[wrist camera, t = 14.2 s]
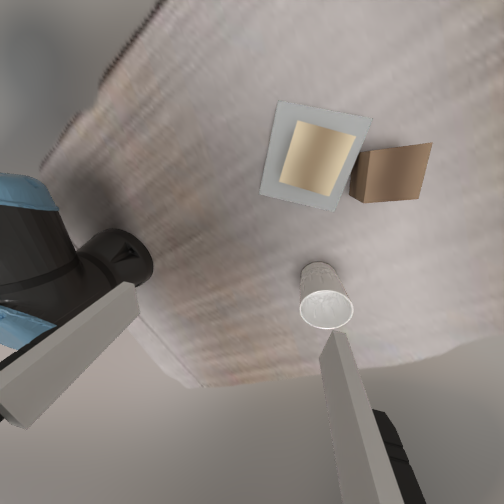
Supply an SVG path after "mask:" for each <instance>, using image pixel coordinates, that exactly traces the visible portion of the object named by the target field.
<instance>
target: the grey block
mask: <svg viewBox="0 0 504 504" xmlns="http://www.w3.org/2000/svg"><path fill="white" fill-rule="evenodd" d="M372 120H373V118H368V117H363V116H358V115H353V114H347V113H342V112H337V111H332V110H326V109H321V108H316V107H311V106H305V105H300V104H295V103H290V102H284V101H279V100H278V104H277V109H276V114H275V119H274V123H273V128H272V133H271V138H270V143H269V148H268V153H267V157H266V162H265V167H264V172H263V177H262V182H261V187H260V192H259V195H263V196H268V197H272V198H276V199H280V200H284V201H289V202H293V203H297V204H301V205H305V206H309V207H314V208H318V209H322V210H326V211H330V212H335V209H336V207H337V204H338V202H339V199H340V197H341V195H342V192H343V190H344V187H345V185H346V183H347V180H348V178H349V175H350V173H351V171H352V168H353V166H354V163H355V161H356V159H357V156H358V154H359V151H360V149H361V146H362V144H363V142H364V139H365V137H366V134H367V132H368V130H369V127H370V125H371V122H372ZM297 121H302V122H306V123H309V124H313V125H317V126H320V127H324V128H327V129H331V130H335V131H338V132H342V133H346V134H349V135H353V136H356V138H355V140H354V142H353V145H352V147H351V149H350V151H349V154H348V156H347V158H346V160H345V162H344V165H343V167H342V169H341V171H340V174H339V176H338V178H337V180H336V183H335V185H334V187H333V189H332V191H331V194H330V196H325V195H322V194H319V193H315V192H312V191H308V190H305V189H302V188H298V187H295V186H292V185H288V184H285V183H282V182H279V179H280V176H281V173H282V169H283V166H284V163H285V160H286V156H287V153H288V150H289V147H290V143H291V140H292V137H293V134H294V130H295V127H296V124H297Z"/></svg>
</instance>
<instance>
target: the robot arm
mask: <svg viewBox="0 0 504 504" xmlns="http://www.w3.org/2000/svg"><path fill="white" fill-rule="evenodd" d="M58 211H59V207H57V206H56V205H55V203H54V201H53V199H52V197H51V195H50V193H49V191H48V189H47V188H46V186H45V185H44V184H43V183H42V182H40V181H39V180H37V179H35V178H32V177H29V176H24V175H17V174H9V173H0V344H2V345H4V346H7V347H10V348H13V349H16V350H18V351H17V352H14V353H13V354H11V355H10V356H8V357H7V358H6V359H4V360H3V361H1V362H0V422H1V421H2V420H3V419H4V418H5V419H6V420H7V421H8V422H9V423H10V424H11V425H14V426H17V427H20V428H23V429H26V430H27V429H28V428H29V427H30V426H31V425H32V424H33V423H34V422H35V421H36V420H37V419H38V418H39V417H40V416H41V415H42V414H43V413H44V412H45V411H46V410H47V409H48V408H49V407H50V406H51V404H53V403H54V402H55V400H56V399H57V398H58V397H59V396H60V395H61V394H62V393H63V392H64V391H65V390H66V389H67V388H68V387H69V386H70V385H71V384H72V383H73V382H74V381H75V380H76V379H77V378H78V377H79V376H80V375H81V374H82V373H83V372H84V371H85V370H86V369H87V368H88V367H89V366H90V364H92V363H93V361H94V360H95V359H96V358H97V357H98V356H99V355H100V354H101V353H102V352H103V351H104V350H105V349H106V348H107V347H108V346H109V345H110V344H111V343H112V342H113V341H114V340H115V339H116V338H117V337H118V336H119V335H120V334H121V333H122V332H123V330H125V329H126V328H127V327H128V326H129V325H130V324H131V323H132V321H133V320H134V319H135V318H136V317H137V316H138V315H139V314H140V310H139V305H138V300H137V295H136V290H135V287H138V286H140V285H142V284H143V283H144V282H146V281H147V280H148V279H149V278H150V277H151V275H152V272H153V263H152V259H151V257H150V254H149V253H148V251H147V249H146V248H145V247H144V245H143V244H142V243H141V242H140V241H139V240H138V239H137V238H135V237H134V236H133V235H131V234H129V233H127V232H125V231H122V230H119V229H109V230H105V231H103V232H100V233H98V234H96V235H95V236H93V237H92V238H91V240H89V241H88V242H87V243H85V244H84V245H83V246H82V247H81V248H79V249H78V250H77V251H75V249H74V246H73V244H72V242H71V239H70V237H69V235H68V232H67V230H66V228H65V226H64V223H63V221H62V219H61V216H60V214H59V212H58ZM319 361H320V368H321V374H322V380H323V386H324V392H325V398H326V404H327V410H328V416H329V423H330V429H331V435H332V441H333V447H334V453H335V459H336V465H337V472H338V478H339V484H340V490H341V496H342V502H343V504H426V502H425V499H424V497H423V494H422V492H421V489H420V487H419V484H418V482H417V480H416V477H415V475H414V472H413V470H412V467H411V466H410V465H409V460H408V458H407V455H406V453H405V450H404V449H403V445H402V443H401V440H400V438H399V435H398V433H397V431H396V428H395V427H394V425H393V424H392V422H391V421H390V419H389V418H388V416H387V415H386V414H385V412H381V411H378V410H374V409H372V408H371V405H370V403H369V400H368V397H367V394H366V391H365V388H364V385H363V382H362V379H361V376H360V373H359V370H358V368H357V365H356V362H355V359H354V356H353V353H352V350H351V347H350V344H349V341H348V338H347V336H346V333H342V332H338V331H334V330H333V331H332V333H331V335H330V337H329V339H328V341H327V343H326V345H325V347H324V349H323V351H322V353H321V355H320V357H319Z"/></svg>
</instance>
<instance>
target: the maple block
mask: <svg viewBox="0 0 504 504" xmlns="http://www.w3.org/2000/svg"><path fill="white" fill-rule="evenodd" d="M355 138H356V136H353V135H349V134H346V133H342V132H338V131H335V130H331V129H327V128H324V127H320V126H317V125H313V124H309V123H306V122H302V121H297V124H296V127H295V130H294V134H293V137H292V140H291V143H290V147H289V150H288V153H287V156H286V160H285V163H284V166H283V169H282V173H281V176H280V179H279V182H282V183H285V184H288V185H292V186H295V187H298V188H302V189H305V190H308V191H312V192H315V193H319V194H322V195H325V196H330V194H331V191H332V189H333V187H334V185H335V183H336V180H337V178H338V176H339V174H340V171H341V169H342V167H343V165H344V162H345V160H346V158H347V156H348V154H349V151H350V149H351V147H352V145H353V142H354V140H355Z"/></svg>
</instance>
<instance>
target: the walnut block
mask: <svg viewBox="0 0 504 504" xmlns="http://www.w3.org/2000/svg"><path fill="white" fill-rule="evenodd" d="M432 143H433V142H432ZM432 143H425V144H418V145H410V146H403V147H395V148H388V149H381V150H373V151H366V152H360V153H359V154H358V156H357V159H356V161H355V163H354V166H353V168H352V171H351V180H350V190H349V195H350V196H352V197H353V198H355V199H357V200H359V201H361V202H362V203H373V202H386V201H399V200H412V199H418V198H419V194H420V190H421V187H422V183H423V179H424V175H425V171H426V167H427V163H428V159H429V155H430V151H431V147H432Z"/></svg>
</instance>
